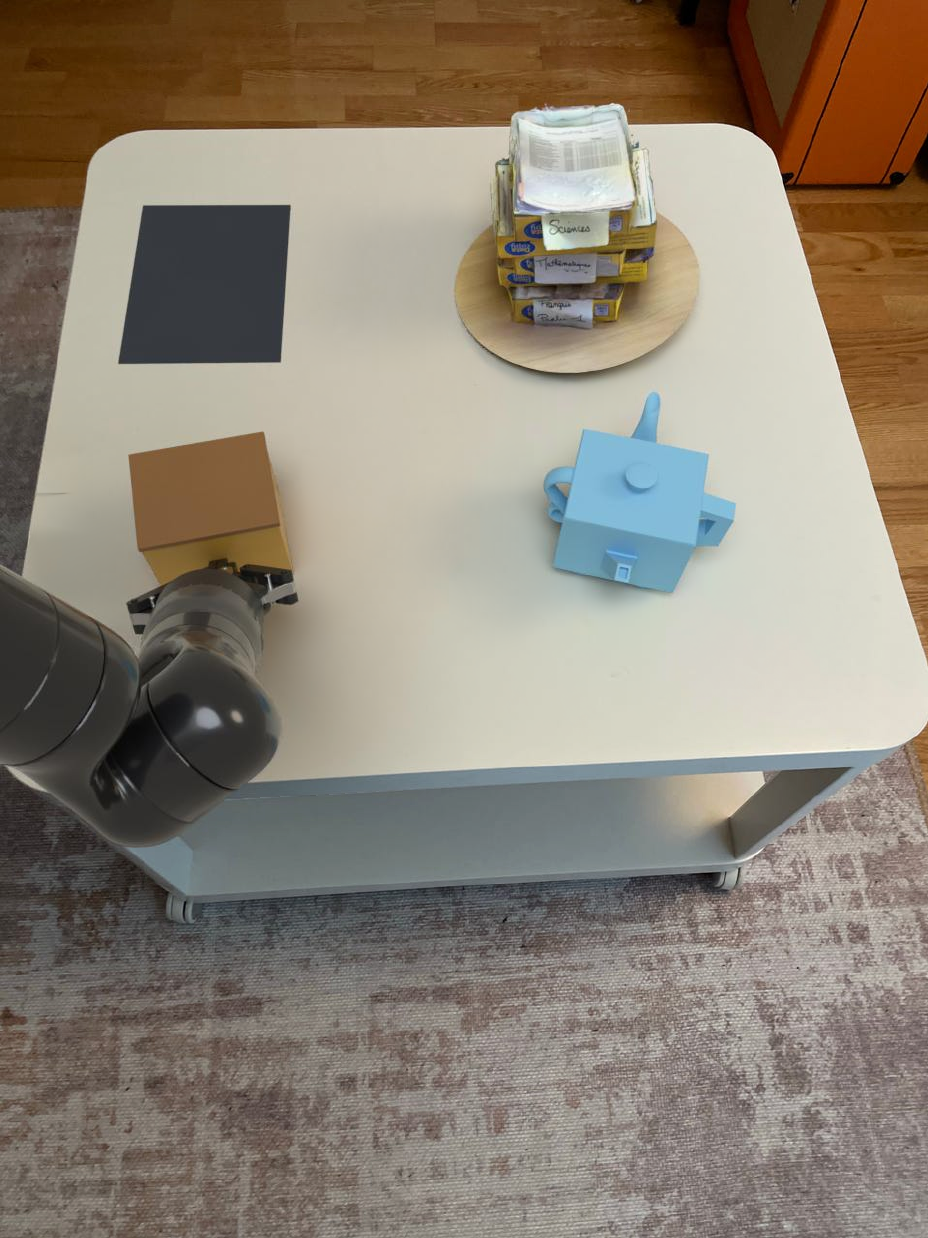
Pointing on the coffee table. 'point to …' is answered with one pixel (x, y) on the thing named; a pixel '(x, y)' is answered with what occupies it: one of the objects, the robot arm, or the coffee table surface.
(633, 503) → the teapot
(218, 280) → the mat
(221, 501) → the toy box
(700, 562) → the coffee table surface
